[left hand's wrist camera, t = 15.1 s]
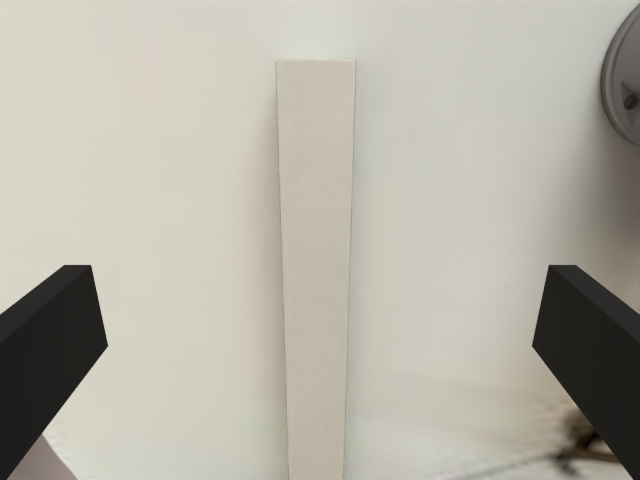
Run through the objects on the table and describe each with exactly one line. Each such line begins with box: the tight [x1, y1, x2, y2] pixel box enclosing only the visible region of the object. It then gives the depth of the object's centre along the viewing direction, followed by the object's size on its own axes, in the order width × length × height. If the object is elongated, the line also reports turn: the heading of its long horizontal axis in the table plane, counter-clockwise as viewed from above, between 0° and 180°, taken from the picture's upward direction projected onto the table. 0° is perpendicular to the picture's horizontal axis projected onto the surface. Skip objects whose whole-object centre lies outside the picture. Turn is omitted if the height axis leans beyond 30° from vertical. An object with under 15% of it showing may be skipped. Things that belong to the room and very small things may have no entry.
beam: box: [276, 60, 356, 480], centre depth 47 cm, size 55×6×9 cm, turn 0°
